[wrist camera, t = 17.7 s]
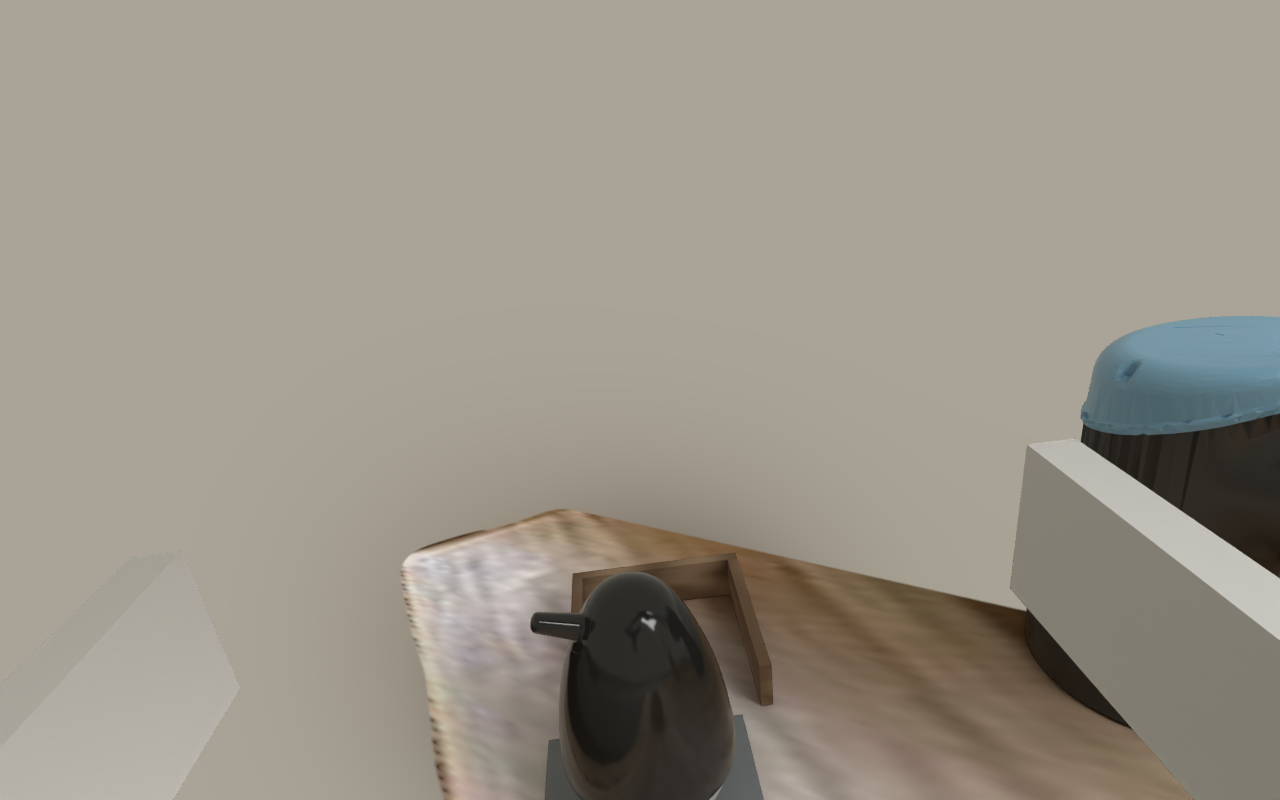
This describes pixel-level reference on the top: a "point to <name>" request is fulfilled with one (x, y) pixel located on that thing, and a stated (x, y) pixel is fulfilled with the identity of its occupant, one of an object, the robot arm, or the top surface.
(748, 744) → the grey mat
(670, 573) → the walnut caddy
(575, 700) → the pump dispenser
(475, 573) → the top surface
